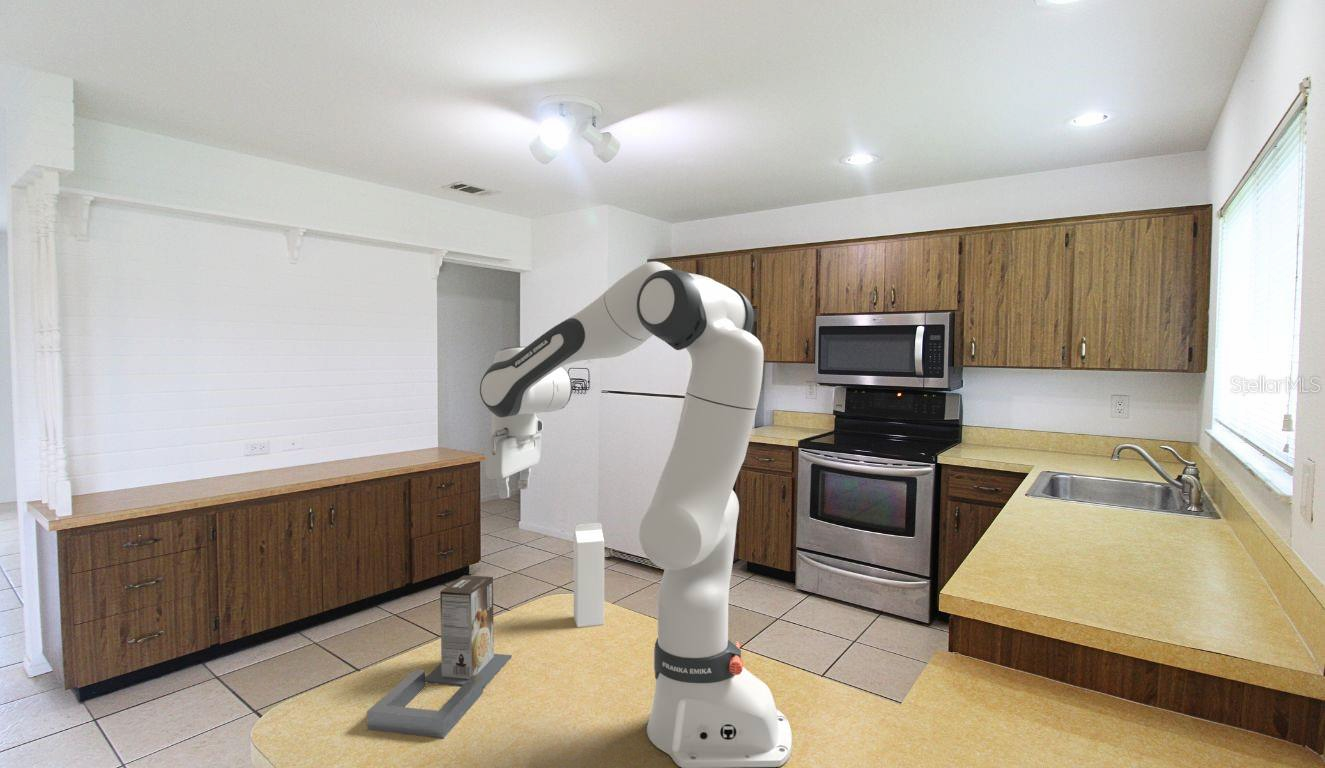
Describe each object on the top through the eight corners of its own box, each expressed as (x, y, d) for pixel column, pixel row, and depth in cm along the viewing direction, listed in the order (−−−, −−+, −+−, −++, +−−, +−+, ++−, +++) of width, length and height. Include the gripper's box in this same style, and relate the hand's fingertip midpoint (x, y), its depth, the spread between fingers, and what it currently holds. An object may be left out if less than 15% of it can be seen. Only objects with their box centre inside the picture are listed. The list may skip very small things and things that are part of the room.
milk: (604, 625, 139) (604, 526, 138) (576, 628, 137) (577, 528, 136) (599, 614, 144) (599, 519, 144) (573, 616, 143) (573, 521, 142)
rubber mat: (511, 657, 123) (511, 655, 123) (484, 688, 111) (484, 686, 111) (454, 652, 125) (454, 650, 125) (422, 682, 113) (422, 680, 113)
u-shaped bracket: (483, 692, 110) (483, 676, 110) (443, 738, 96) (443, 719, 96) (415, 686, 112) (414, 669, 112) (367, 729, 99) (367, 711, 98)
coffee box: (464, 654, 123) (463, 573, 123) (494, 657, 122) (494, 575, 122) (440, 677, 114) (439, 590, 114) (472, 680, 113) (472, 593, 113)
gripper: (507, 431, 118) (508, 504, 118) (546, 422, 138) (546, 484, 138) (476, 431, 119) (476, 503, 119) (519, 421, 139) (519, 483, 139)
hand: (514, 493), depth 129 cm, fingers open, 8 cm apart
